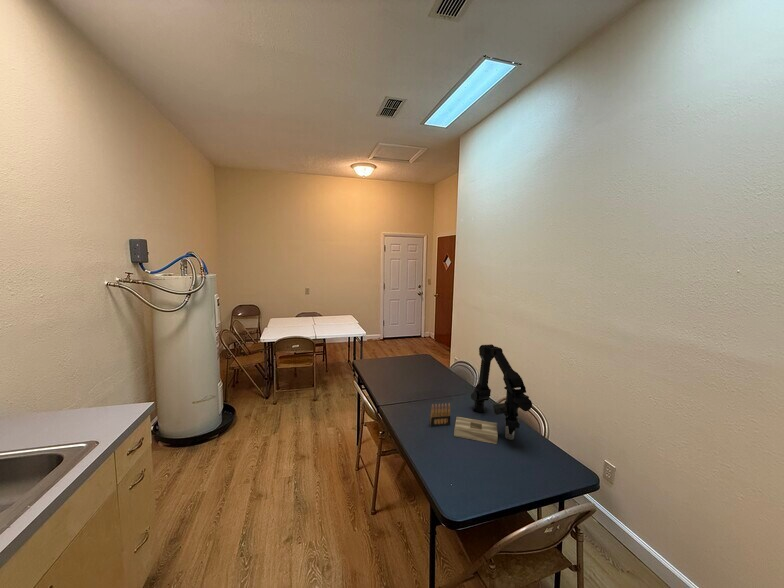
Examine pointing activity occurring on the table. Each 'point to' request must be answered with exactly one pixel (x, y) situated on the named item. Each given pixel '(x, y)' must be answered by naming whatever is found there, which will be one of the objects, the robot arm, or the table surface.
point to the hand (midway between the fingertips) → (509, 431)
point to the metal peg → (509, 434)
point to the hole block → (476, 430)
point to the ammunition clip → (440, 415)
